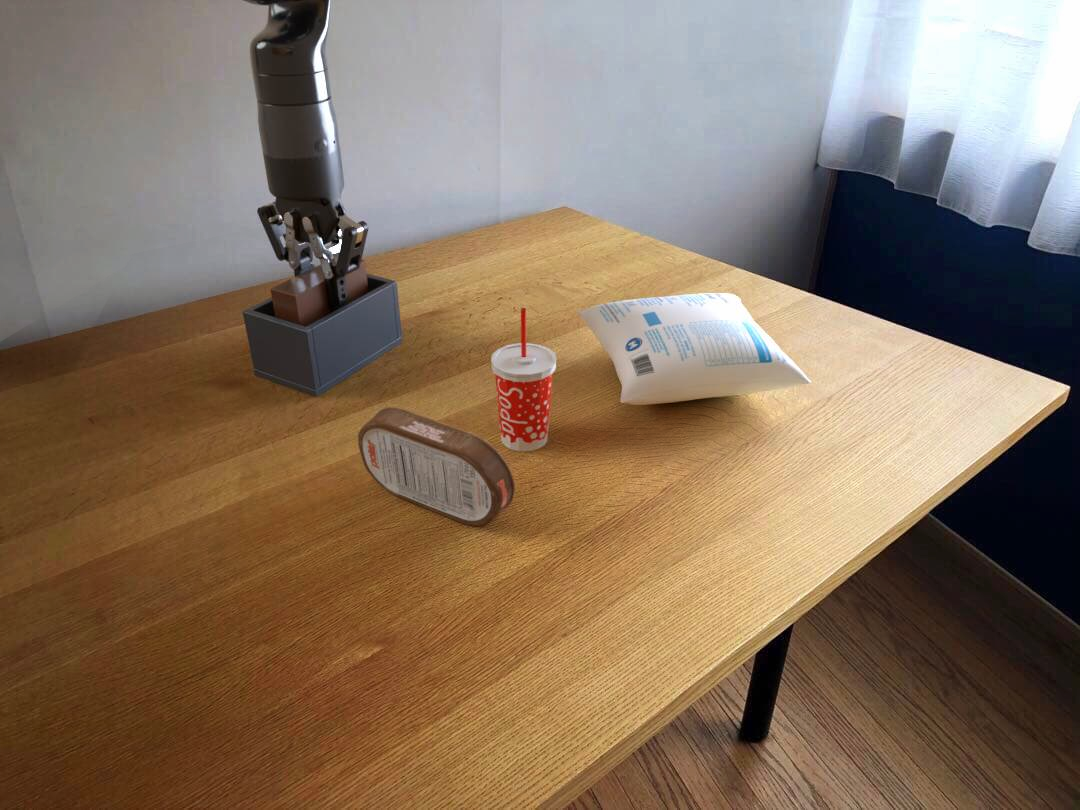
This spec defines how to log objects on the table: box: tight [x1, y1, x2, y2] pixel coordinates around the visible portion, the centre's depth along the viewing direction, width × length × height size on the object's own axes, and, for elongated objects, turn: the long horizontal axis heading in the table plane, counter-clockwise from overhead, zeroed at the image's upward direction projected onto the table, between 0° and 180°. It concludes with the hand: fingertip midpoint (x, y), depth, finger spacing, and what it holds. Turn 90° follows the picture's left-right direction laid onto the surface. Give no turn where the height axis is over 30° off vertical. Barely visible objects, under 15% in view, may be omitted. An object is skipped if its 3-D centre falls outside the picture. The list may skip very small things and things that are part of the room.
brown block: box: [270, 257, 369, 327], centre depth 94 cm, size 11×4×4 cm, turn 150°
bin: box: [242, 273, 403, 398], centre depth 96 cm, size 15×9×8 cm, turn 149°
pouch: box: [576, 292, 812, 406], centre depth 93 cm, size 8×19×20 cm
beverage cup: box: [490, 307, 557, 452], centre depth 81 cm, size 6×6×14 cm
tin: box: [357, 406, 516, 527], centre depth 73 cm, size 15×3×8 cm, turn 59°
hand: (323, 301), depth 95 cm, fingers closed on brown block, 3 cm apart
